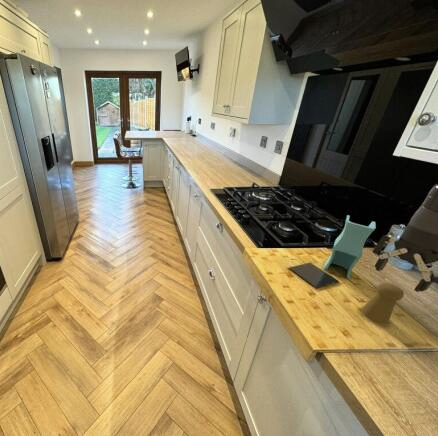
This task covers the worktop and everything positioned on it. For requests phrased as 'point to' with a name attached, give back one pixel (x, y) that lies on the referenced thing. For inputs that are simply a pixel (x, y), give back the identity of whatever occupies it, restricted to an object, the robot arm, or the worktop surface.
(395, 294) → the cork
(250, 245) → the worktop surface
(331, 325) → the worktop surface
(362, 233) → the teal waisted stand
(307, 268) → the slate coaster
